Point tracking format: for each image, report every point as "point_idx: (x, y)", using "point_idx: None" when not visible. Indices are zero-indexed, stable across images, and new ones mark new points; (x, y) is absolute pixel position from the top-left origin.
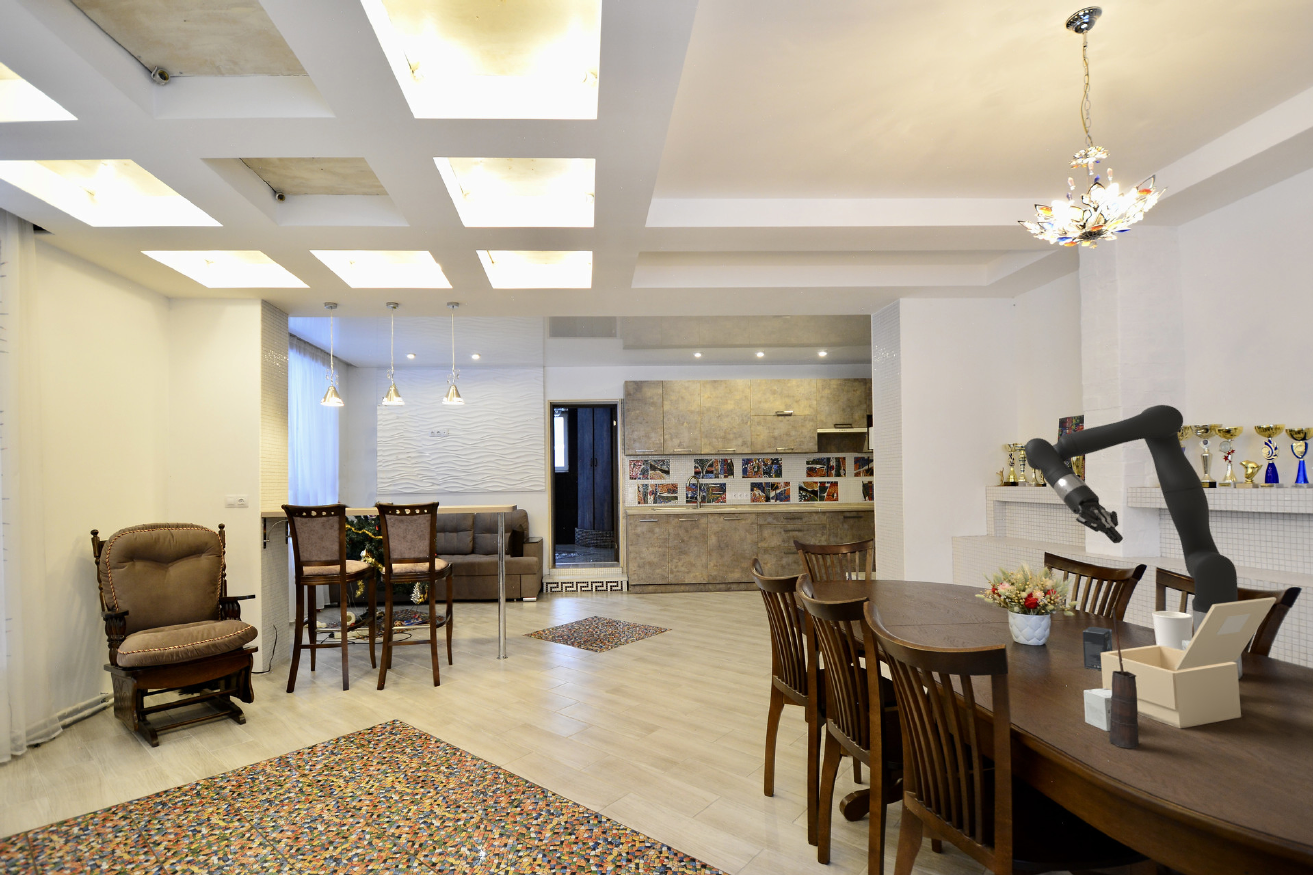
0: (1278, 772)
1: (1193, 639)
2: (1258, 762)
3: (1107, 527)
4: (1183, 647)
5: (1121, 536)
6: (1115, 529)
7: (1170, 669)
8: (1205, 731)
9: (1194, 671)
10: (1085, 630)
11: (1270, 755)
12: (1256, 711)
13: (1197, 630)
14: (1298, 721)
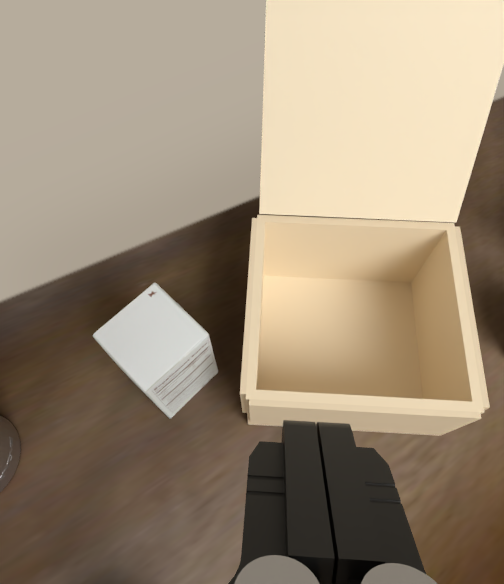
0: None
1: (482, 127)
2: None
3: (427, 581)
4: (158, 388)
5: (294, 427)
6: (288, 519)
7: (257, 377)
8: None
9: (395, 222)
10: None
11: None
12: (200, 278)
13: (492, 98)
14: (195, 226)
